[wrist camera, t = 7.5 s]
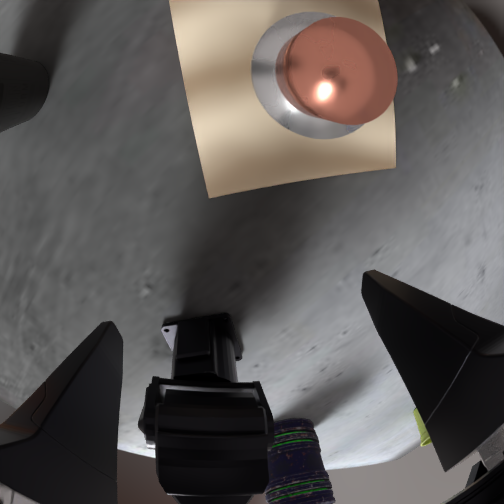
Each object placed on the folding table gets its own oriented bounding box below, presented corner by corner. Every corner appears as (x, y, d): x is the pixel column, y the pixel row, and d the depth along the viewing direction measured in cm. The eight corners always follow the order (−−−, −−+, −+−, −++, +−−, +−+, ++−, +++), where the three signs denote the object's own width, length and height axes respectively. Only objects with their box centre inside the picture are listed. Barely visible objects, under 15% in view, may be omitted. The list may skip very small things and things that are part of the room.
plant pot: (419, 398, 44) (436, 431, 37) (449, 386, 46) (466, 415, 38) (399, 420, 49) (413, 450, 42) (429, 409, 51) (443, 436, 43)
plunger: (354, 125, 17) (419, 145, 11) (252, 137, 17) (276, 160, 11) (342, 28, 14) (404, 5, 8) (234, 33, 13) (248, -5, 7)
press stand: (389, 164, 20) (423, 182, 16) (209, 193, 20) (208, 219, 16) (369, -5, 13) (402, -20, 9) (170, 4, 13) (160, -20, 9)
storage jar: (251, 424, 38) (266, 513, 25) (315, 412, 38) (341, 497, 25) (257, 445, 43) (270, 518, 30) (311, 435, 43) (331, 505, 30)
